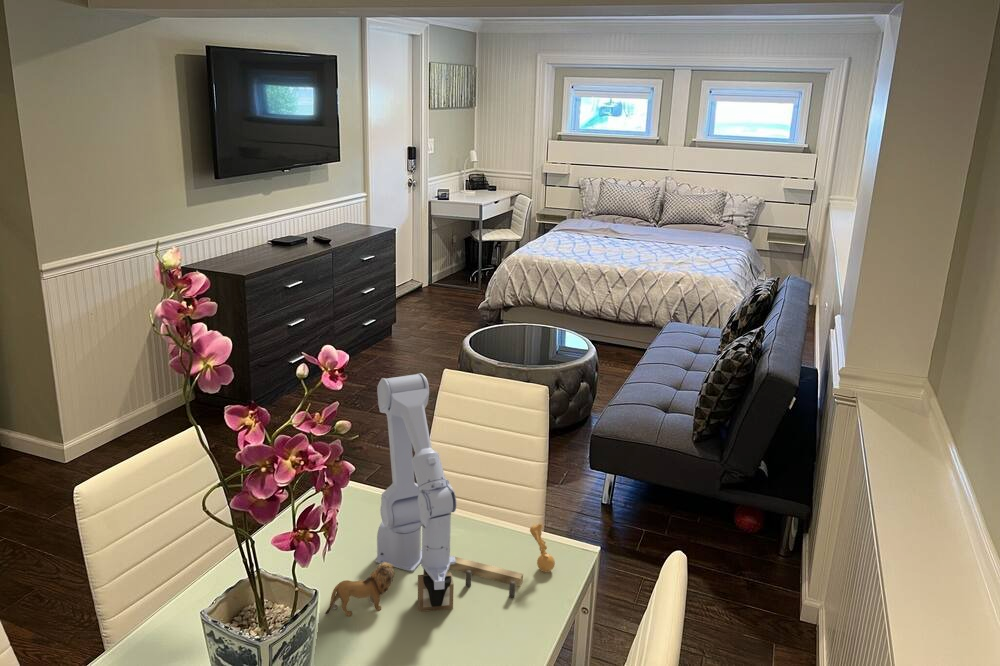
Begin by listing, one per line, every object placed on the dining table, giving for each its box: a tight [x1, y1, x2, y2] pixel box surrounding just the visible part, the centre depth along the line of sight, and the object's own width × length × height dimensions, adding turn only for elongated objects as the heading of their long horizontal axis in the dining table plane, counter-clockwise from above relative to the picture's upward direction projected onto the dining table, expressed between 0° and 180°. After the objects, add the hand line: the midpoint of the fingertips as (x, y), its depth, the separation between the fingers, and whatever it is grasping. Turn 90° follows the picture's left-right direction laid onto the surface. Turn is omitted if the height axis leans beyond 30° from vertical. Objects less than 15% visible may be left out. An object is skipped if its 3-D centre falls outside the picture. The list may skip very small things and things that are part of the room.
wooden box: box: [417, 572, 455, 612], centre depth 162 cm, size 7×4×6 cm, turn 100°
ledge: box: [423, 556, 524, 599], centre depth 171 cm, size 21×7×4 cm, turn 70°
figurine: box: [529, 523, 556, 573], centre depth 174 cm, size 8×6×12 cm
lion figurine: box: [324, 562, 395, 617], centre depth 160 cm, size 15×5×9 cm, turn 117°
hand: (435, 598), depth 163 cm, fingers closed on wooden box, 4 cm apart
